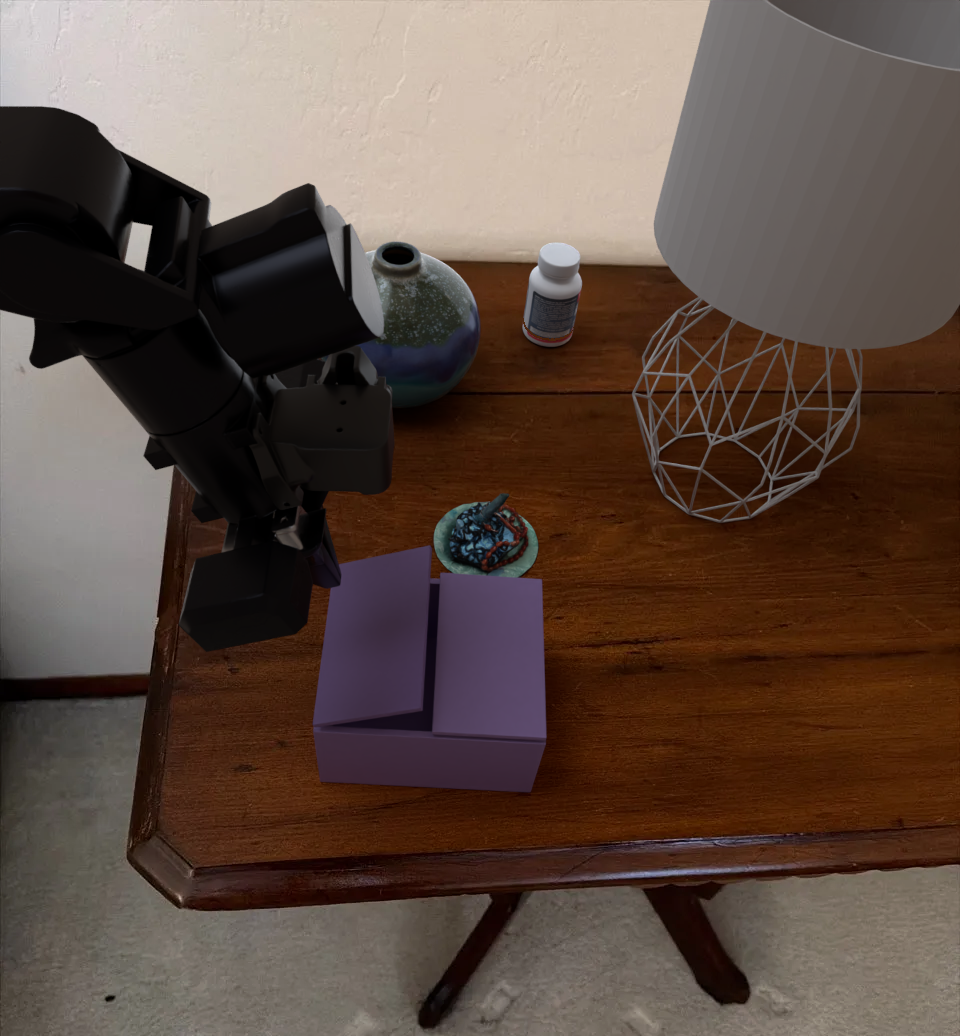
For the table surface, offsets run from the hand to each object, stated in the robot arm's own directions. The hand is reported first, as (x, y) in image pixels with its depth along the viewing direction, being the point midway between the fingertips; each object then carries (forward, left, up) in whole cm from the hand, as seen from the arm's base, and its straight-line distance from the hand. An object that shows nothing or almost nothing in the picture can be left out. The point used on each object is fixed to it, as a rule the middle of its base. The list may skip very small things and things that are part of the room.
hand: (334, 582), depth 56 cm
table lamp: (+32, +26, -15) cm, 44 cm away
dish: (+11, +16, -15) cm, 24 cm away
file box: (+7, 0, -14) cm, 16 cm away
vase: (+2, +36, -15) cm, 39 cm away
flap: (+3, 0, -5) cm, 6 cm away
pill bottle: (+17, +45, -15) cm, 50 cm away
